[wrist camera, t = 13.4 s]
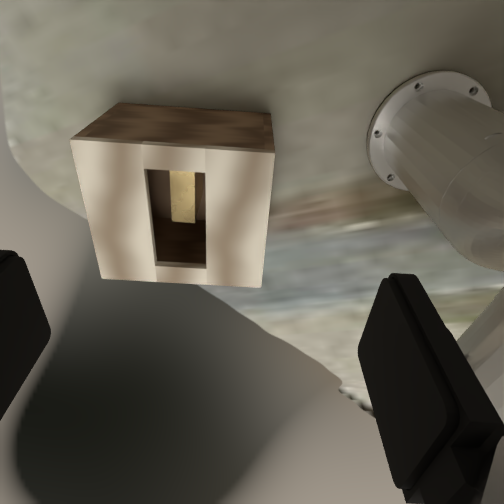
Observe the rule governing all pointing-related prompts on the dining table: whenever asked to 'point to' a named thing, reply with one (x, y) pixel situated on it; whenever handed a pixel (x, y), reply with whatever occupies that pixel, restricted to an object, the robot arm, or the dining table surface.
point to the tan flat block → (185, 195)
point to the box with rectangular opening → (159, 197)
